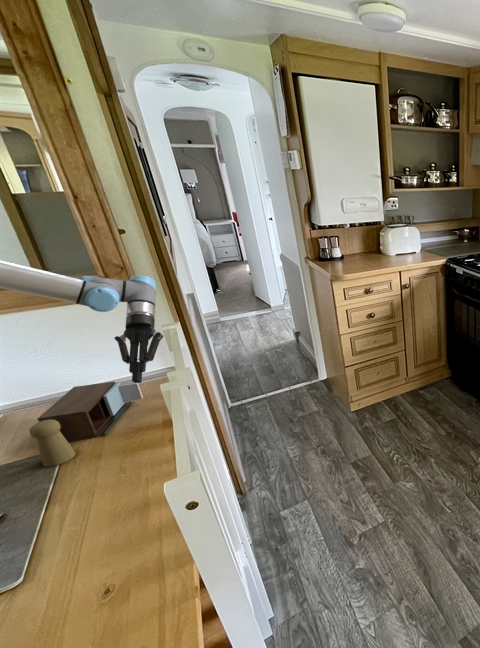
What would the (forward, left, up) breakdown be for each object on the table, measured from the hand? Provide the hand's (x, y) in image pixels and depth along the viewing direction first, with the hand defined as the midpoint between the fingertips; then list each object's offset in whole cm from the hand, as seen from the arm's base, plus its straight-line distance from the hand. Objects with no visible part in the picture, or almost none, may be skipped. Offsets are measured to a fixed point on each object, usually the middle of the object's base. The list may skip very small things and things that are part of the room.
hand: (136, 381), depth 122 cm
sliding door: (+5, -4, -5) cm, 9 cm away
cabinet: (+5, -13, -7) cm, 15 cm away
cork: (+20, -22, -7) cm, 30 cm away
